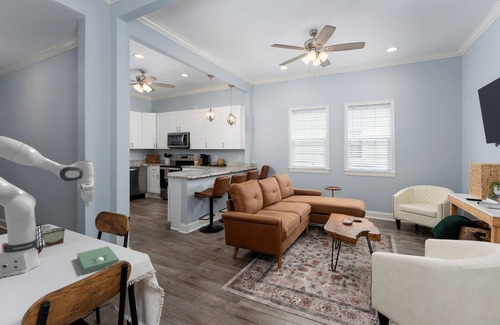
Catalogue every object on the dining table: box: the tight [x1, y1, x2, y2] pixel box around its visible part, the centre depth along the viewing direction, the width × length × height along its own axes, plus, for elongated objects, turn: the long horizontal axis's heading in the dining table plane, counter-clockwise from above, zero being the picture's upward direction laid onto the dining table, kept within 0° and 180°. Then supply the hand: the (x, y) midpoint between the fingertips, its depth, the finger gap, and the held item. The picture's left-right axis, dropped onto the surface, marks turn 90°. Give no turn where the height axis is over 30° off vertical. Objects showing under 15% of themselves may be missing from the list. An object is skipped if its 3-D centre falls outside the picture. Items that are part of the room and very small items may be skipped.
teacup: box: [40, 225, 52, 240], centre depth 170 cm, size 15×12×8 cm
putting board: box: [76, 246, 120, 275], centre depth 135 cm, size 16×24×3 cm, turn 43°
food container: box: [42, 227, 66, 248], centre depth 159 cm, size 12×6×10 cm, turn 144°
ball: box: [96, 257, 104, 262], centre depth 131 cm, size 4×4×4 cm
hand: (86, 206), depth 153 cm, fingers closed
